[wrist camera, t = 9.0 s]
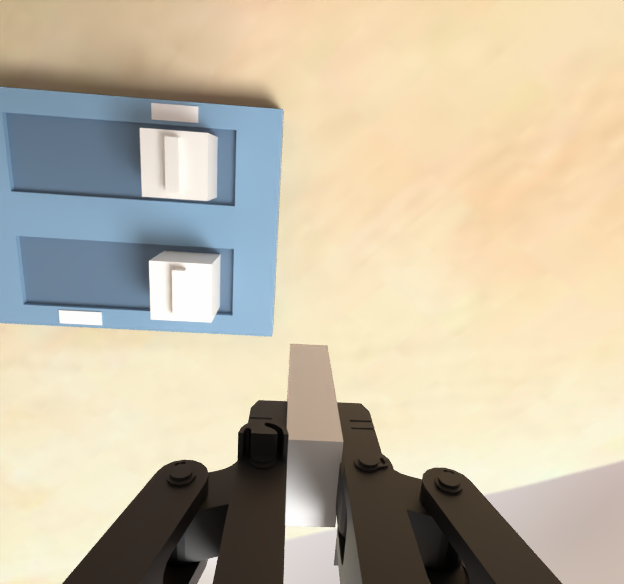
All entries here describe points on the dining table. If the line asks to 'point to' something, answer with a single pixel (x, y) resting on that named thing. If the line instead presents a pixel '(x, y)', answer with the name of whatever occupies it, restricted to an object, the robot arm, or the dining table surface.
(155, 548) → the robot arm
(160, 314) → the tab far
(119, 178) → the switch bank
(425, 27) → the dining table surface
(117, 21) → the dining table surface
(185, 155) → the tab near
